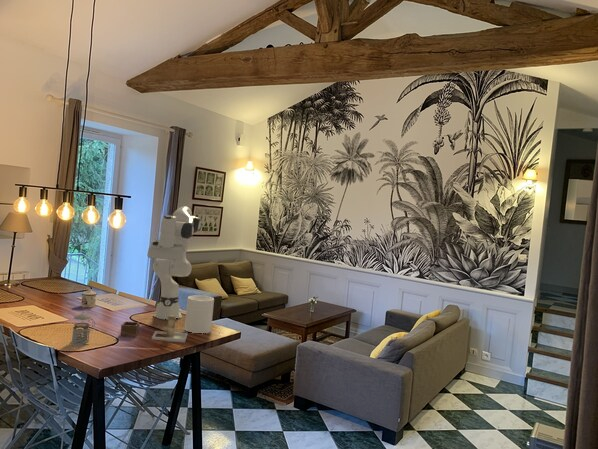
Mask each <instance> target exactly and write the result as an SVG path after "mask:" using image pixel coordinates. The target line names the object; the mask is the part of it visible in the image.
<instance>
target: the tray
mask: <svg viewBox="0 0 598 449" xmlns="http://www.w3.org/2000/svg"><path fill="white" fill-rule="evenodd" d="M188 334H189V333H188V332H177V331H174V338H168V337H166V336H164V337H163V336H157V335H167V331H163V330H162V331H160V330H155V331H154V332H153V334H152V336H151V340H154V341H155V340H158V341H164V342H167V343H169V342H170V343H186V341H187V338H188Z"/></svg>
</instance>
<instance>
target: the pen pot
mask: <svg viewBox="0 0 598 449" xmlns="http://www.w3.org/2000/svg"><path fill="white" fill-rule="evenodd" d="M139 330H140V322H137V321H126V320H125V321H124V322H123V323H122V324H121V325H120V334H119V336H120V337H124V338H125V337H126V338H136V337H137V336H138V335H139V332H140V331H139Z"/></svg>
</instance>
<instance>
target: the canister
mask: <svg viewBox="0 0 598 449" xmlns="http://www.w3.org/2000/svg"><path fill="white" fill-rule="evenodd" d="M186 301H187V302H186V304H187V305H186V308H185V309H186V312H185V321H184V331H185V330H186V331H189V332H192V333H191V334H193V333H202V334H201V335H204V334H203V333H206V334H210V333H211V331H212V327H213V326H212V323H213V314H214V305H215V304H214V303H215V298H214V297H212V296H208V295H201V294H200V295H199V294H198V295H197V294H195V295H189V296H188V297H187V300H186ZM186 331H185V332H186Z"/></svg>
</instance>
